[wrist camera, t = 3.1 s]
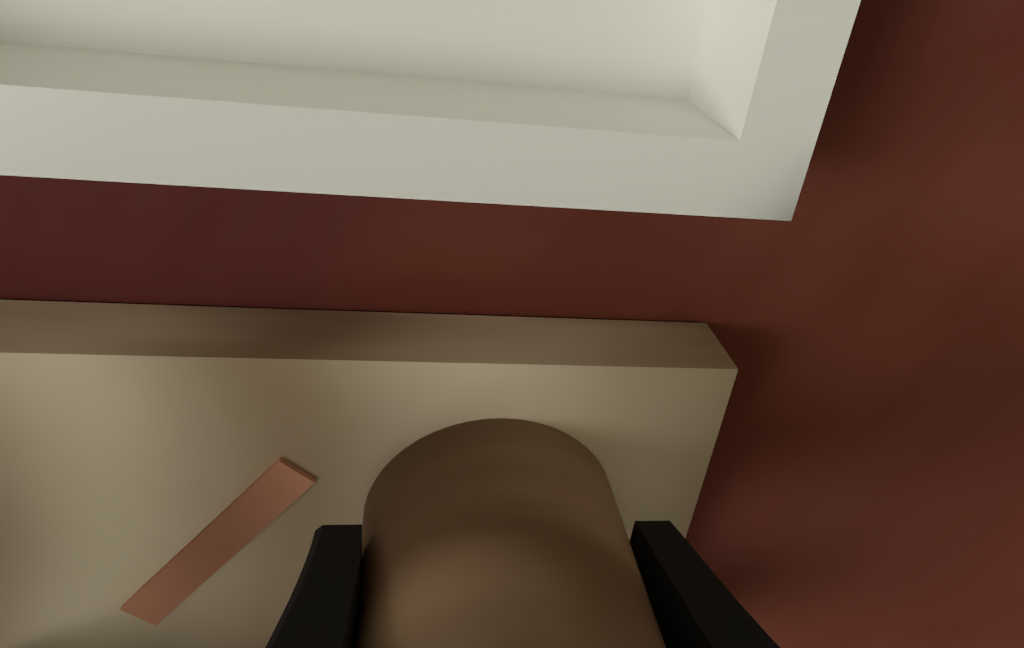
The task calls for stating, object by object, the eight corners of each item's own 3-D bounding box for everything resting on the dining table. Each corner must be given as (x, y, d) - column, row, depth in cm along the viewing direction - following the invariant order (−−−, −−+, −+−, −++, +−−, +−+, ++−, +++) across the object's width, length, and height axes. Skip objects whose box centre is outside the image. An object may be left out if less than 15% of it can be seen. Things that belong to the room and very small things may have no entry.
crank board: (-93, 761, 17) (-142, 848, 15) (-331, 288, 11) (-450, 355, 9) (596, 721, 20) (613, 792, 18) (706, 322, 14) (745, 380, 12)
